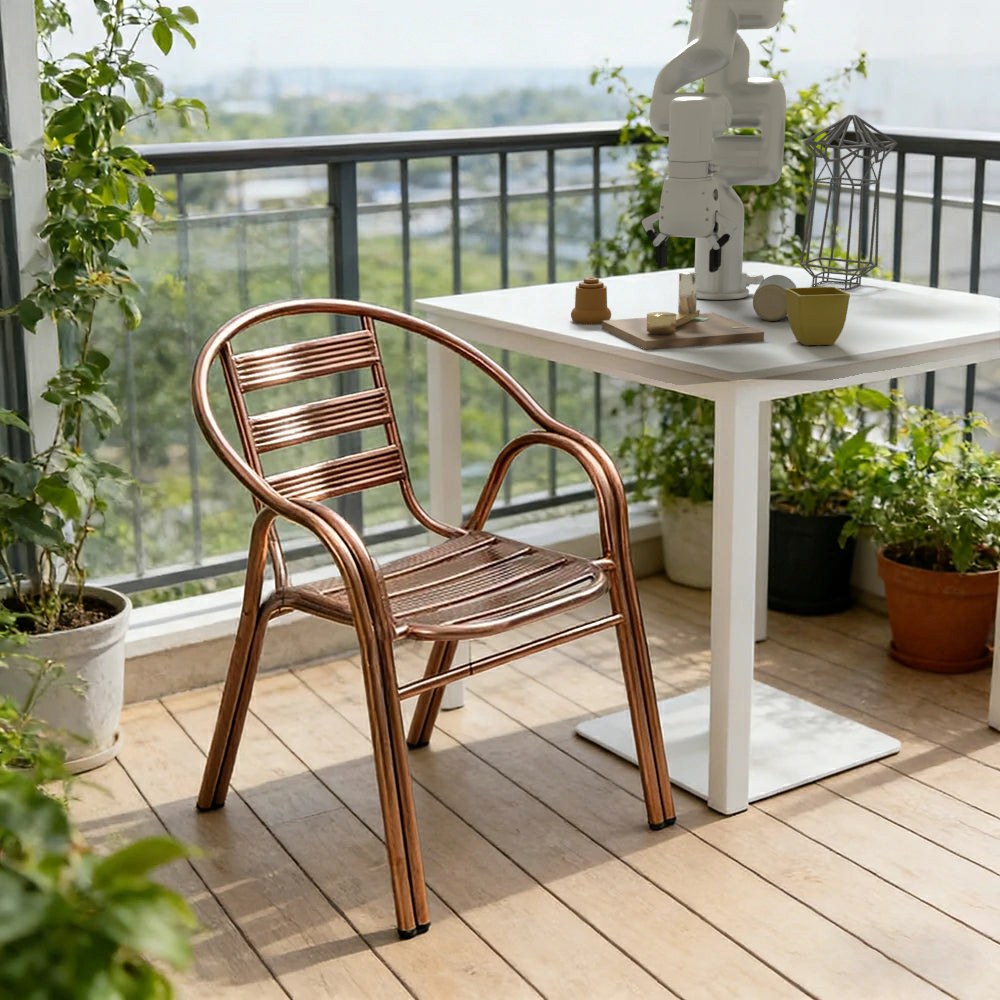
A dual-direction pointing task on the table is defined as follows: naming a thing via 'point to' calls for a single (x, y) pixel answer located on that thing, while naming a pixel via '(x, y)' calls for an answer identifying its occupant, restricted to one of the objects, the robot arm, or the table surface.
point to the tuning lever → (686, 307)
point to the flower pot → (817, 314)
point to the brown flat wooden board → (684, 332)
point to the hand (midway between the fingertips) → (687, 269)
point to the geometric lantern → (836, 132)
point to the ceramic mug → (772, 297)
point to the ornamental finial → (591, 302)
